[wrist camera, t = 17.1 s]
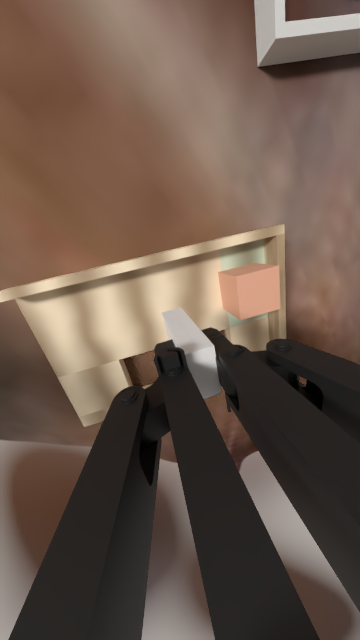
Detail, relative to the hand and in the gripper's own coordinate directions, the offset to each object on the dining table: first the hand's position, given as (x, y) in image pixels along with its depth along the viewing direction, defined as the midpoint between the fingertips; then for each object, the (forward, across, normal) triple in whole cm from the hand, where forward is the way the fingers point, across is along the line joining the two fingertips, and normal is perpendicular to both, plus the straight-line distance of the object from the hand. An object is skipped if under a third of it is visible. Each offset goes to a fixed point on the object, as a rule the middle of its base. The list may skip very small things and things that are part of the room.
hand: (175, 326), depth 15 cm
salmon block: (+10, +11, -1) cm, 15 cm away
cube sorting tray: (+13, 0, -6) cm, 14 cm away
